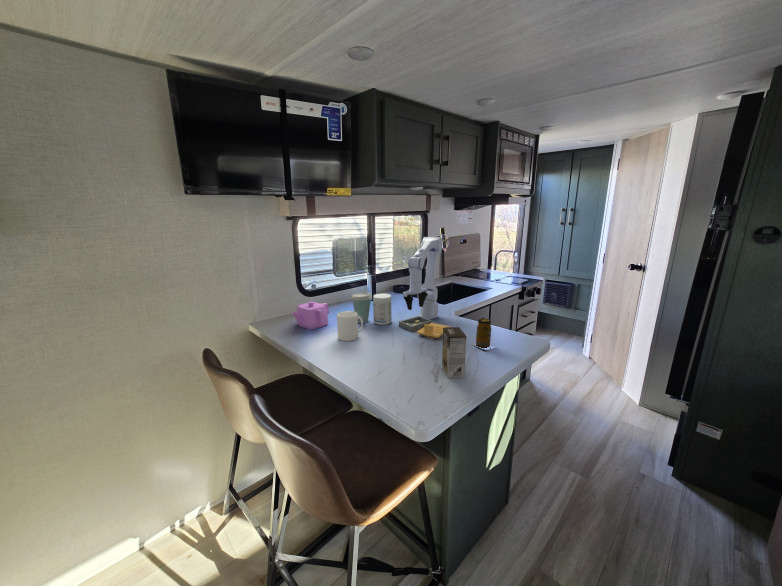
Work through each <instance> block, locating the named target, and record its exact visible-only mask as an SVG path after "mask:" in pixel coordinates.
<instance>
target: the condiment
mask: <svg viewBox="0 0 782 586" xmlns="http://www.w3.org/2000/svg"><path fill="white" fill-rule="evenodd" d="M475 337H476V338H475V343H476V346H478V347H481V348H487V347H489V346H490V345H491V338H492V320H491V319H489V318H483V317H482V318H479V319H478V321H477V325H476V336H475ZM473 344H474V343H471V345H472V346H473ZM478 349H479V350H481V351H483V350H484V349H480V348H478Z"/></svg>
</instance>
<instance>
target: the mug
mask: <svg viewBox="0 0 782 586" xmlns="http://www.w3.org/2000/svg"><path fill="white" fill-rule="evenodd" d="M358 319H360V320H361V324H360V328H359V322H358ZM336 325H337V337H338V338H337V339H338V340H340V341H341V340H342V342H353V341H356V340H357V339H358V337H359V332H362V329H363V327H364V323H363V321H362V318H361V317H360V316H357V313H356V312H354V310H344V311H340V312H337V314H336Z"/></svg>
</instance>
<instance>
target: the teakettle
mask: <svg viewBox="0 0 782 586" xmlns="http://www.w3.org/2000/svg"><path fill="white" fill-rule="evenodd" d="M291 314H292V316H293V317H294V318H295V319H296V320H295V321H296V323H297V325H298V326H299V325H300V326H299V327H300V328H303V327H304V328H303V329H305V328H307V329H306V330H308V329H313V330H315V328H316V329H320V328H323V327H326V326H328V324H329V316H328V314H330V310H329V305H328V303H326V302H324V303H320V302H315V301H312V300H311V301H308V302H306V303H298V305H297V306H296V311H293V312H291ZM325 325H326V326H325ZM322 326H323V327H322ZM319 327H320V328H319Z"/></svg>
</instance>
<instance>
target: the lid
mask: <svg viewBox="0 0 782 586" xmlns="http://www.w3.org/2000/svg"><path fill="white" fill-rule="evenodd" d="M444 327H451V326H450V325H445V324H440V323H435V322H432V323H430V324H425V325H424V328H422V329H419V330H416V334H419V335H421V334H422V335H421V336H423V335H426V336H431V337H435V338H436V339H439V338H441V337H440V336H441V335H443V328H444ZM426 336H425V337H426Z"/></svg>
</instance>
